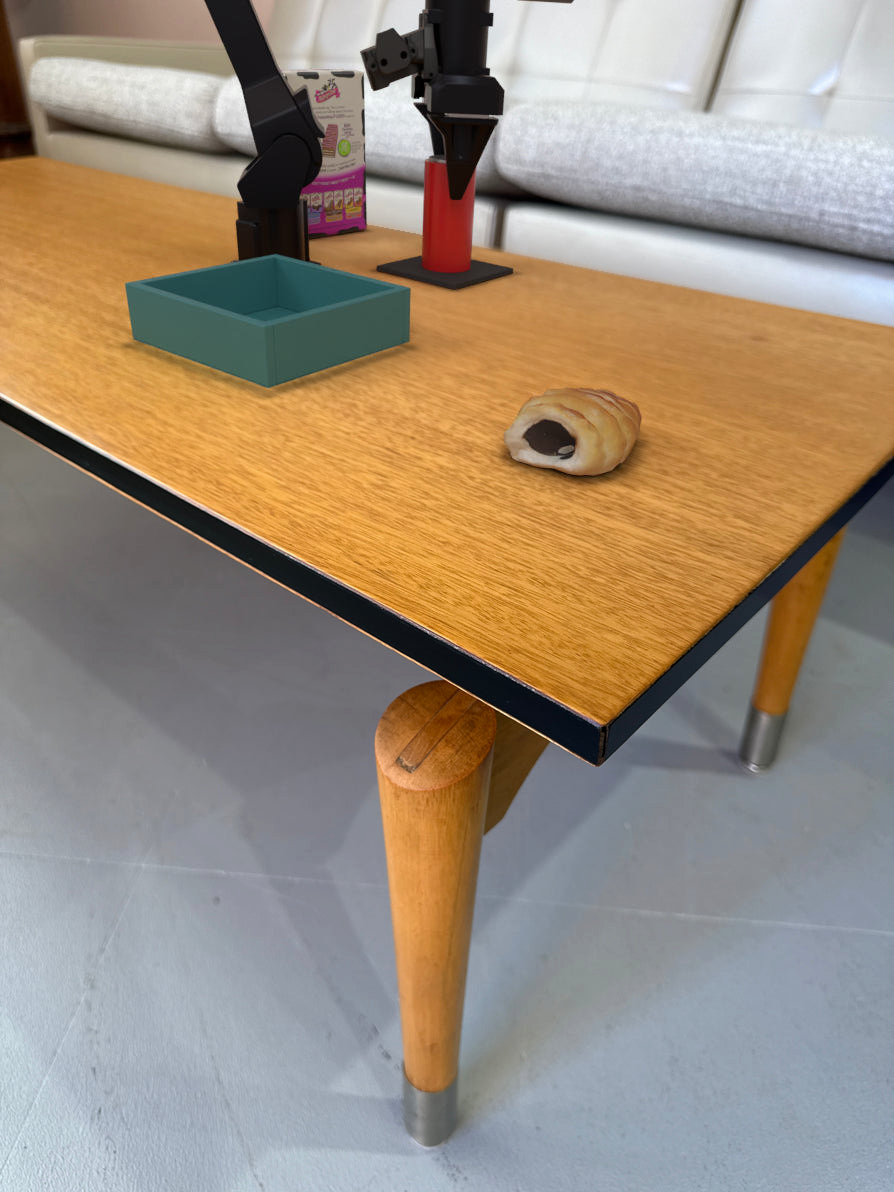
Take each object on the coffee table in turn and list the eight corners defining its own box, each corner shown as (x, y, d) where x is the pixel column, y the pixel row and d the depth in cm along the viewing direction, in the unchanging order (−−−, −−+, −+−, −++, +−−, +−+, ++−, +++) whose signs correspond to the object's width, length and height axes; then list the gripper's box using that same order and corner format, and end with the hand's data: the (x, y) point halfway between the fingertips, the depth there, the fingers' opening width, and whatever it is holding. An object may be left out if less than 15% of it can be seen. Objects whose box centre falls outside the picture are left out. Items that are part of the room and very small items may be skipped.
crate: (278, 308, 75) (275, 253, 72) (409, 347, 67) (411, 287, 65) (133, 345, 65) (124, 282, 62) (268, 394, 57) (264, 326, 55)
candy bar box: (340, 223, 107) (337, 68, 98) (368, 230, 104) (367, 71, 95) (267, 233, 100) (256, 67, 91) (294, 241, 97) (286, 70, 88)
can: (419, 260, 90) (422, 153, 85) (466, 261, 91) (472, 155, 85) (424, 272, 86) (427, 160, 80) (474, 273, 87) (480, 162, 81)
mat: (437, 256, 94) (437, 251, 94) (513, 273, 90) (513, 268, 89) (376, 270, 88) (376, 265, 87) (454, 289, 83) (454, 284, 82)
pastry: (569, 412, 57) (577, 355, 55) (664, 440, 54) (677, 381, 52) (493, 457, 51) (499, 394, 49) (597, 492, 48) (608, 427, 46)
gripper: (360, -6, 83) (361, 175, 91) (371, -12, 67) (371, 206, 76) (476, 1, 84) (466, 178, 93) (512, -3, 69) (497, 210, 77)
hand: (449, 191), depth 84 cm, fingers open, 9 cm apart
